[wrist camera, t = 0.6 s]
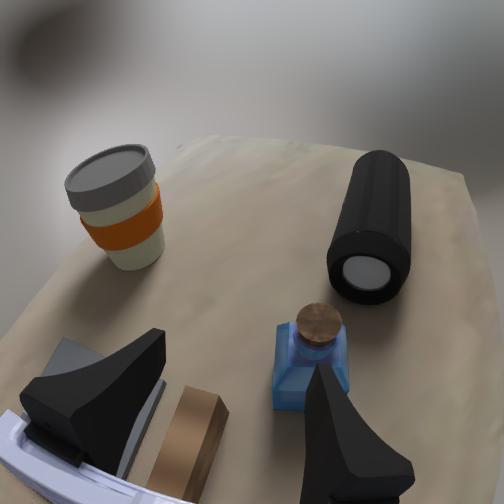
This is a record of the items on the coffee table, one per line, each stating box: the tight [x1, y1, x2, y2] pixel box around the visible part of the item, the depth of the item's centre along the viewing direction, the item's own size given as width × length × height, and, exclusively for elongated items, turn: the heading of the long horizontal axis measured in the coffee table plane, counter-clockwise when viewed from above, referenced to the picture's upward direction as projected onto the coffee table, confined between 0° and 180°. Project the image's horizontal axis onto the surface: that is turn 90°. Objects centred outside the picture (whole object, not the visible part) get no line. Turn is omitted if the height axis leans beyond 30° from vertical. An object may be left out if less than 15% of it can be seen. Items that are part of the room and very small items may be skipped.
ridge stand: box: [21, 337, 167, 504], centre depth 23 cm, size 20×16×3 cm
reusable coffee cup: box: [65, 144, 165, 271], centre depth 39 cm, size 12×13×15 cm
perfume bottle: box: [272, 303, 349, 410], centre depth 24 cm, size 6×6×12 cm
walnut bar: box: [145, 386, 229, 504], centre depth 19 cm, size 16×3×6 cm, turn 165°
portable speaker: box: [327, 150, 411, 305], centre depth 38 cm, size 26×10×10 cm, turn 157°
